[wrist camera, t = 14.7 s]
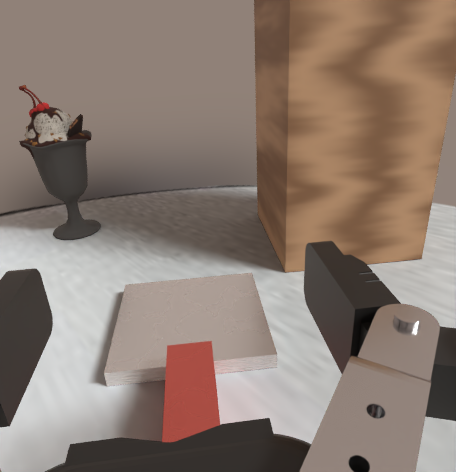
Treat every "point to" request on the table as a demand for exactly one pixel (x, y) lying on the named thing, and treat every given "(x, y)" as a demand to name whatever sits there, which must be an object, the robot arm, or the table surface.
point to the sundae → (61, 162)
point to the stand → (351, 122)
